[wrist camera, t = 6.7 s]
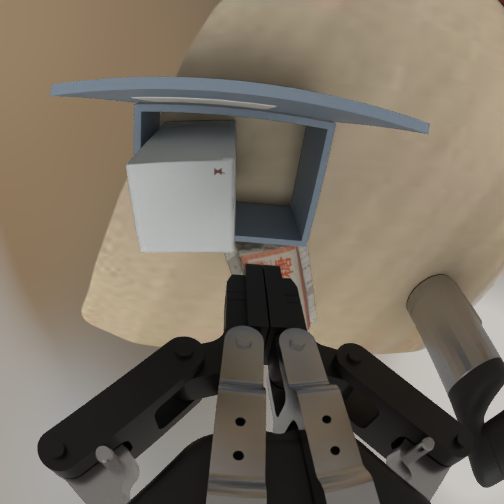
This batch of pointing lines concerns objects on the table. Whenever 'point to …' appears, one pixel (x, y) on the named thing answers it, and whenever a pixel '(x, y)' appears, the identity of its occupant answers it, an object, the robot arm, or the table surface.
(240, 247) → the packaged product
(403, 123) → the lid
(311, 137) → the open blue-gray box
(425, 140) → the table surface
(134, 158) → the supplement box
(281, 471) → the robot arm
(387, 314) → the table surface
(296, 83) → the table surface
